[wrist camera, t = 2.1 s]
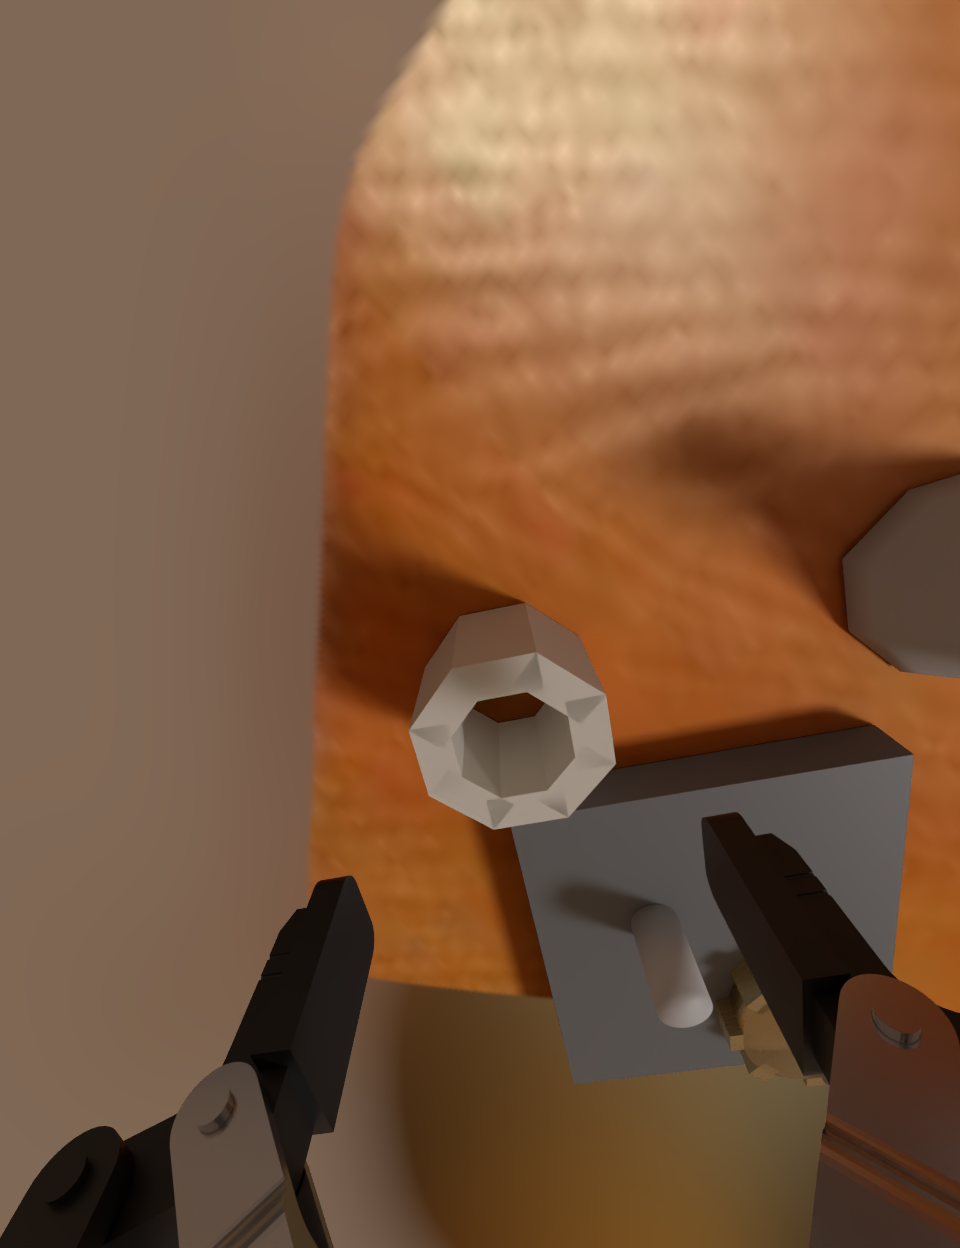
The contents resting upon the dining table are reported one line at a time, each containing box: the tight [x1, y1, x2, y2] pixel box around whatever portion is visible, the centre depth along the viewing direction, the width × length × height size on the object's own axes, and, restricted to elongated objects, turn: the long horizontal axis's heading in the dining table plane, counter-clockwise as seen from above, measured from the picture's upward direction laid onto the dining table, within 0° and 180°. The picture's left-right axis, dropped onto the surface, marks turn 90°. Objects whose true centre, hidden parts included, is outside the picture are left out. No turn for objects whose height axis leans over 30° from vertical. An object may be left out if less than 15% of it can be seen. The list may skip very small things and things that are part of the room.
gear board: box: [511, 725, 914, 1084], centre depth 21 cm, size 17×15×6 cm
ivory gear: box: [409, 603, 616, 830], centre depth 18 cm, size 6×6×4 cm
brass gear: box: [715, 959, 830, 1087], centre depth 22 cm, size 8×8×3 cm
